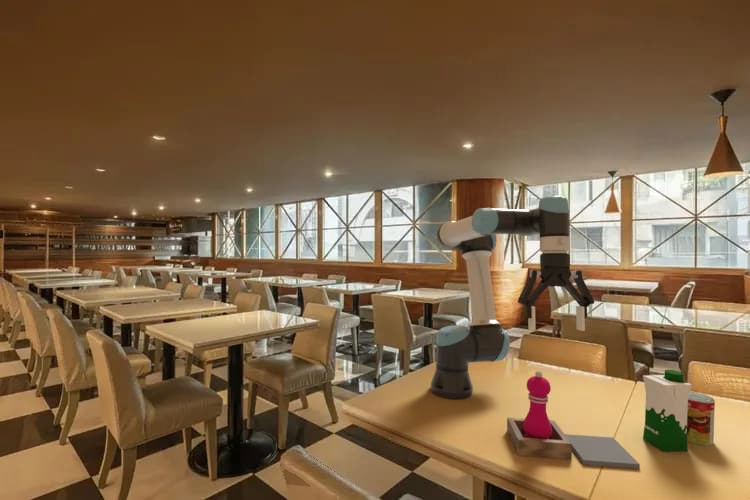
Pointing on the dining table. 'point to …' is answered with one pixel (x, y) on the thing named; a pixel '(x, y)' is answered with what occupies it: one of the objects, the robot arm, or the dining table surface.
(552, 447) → the brown wooden square tray
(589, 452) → the coaster
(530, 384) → the pepper mill
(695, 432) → the canned food
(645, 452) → the dining table surface
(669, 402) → the milk carton
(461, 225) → the robot arm
